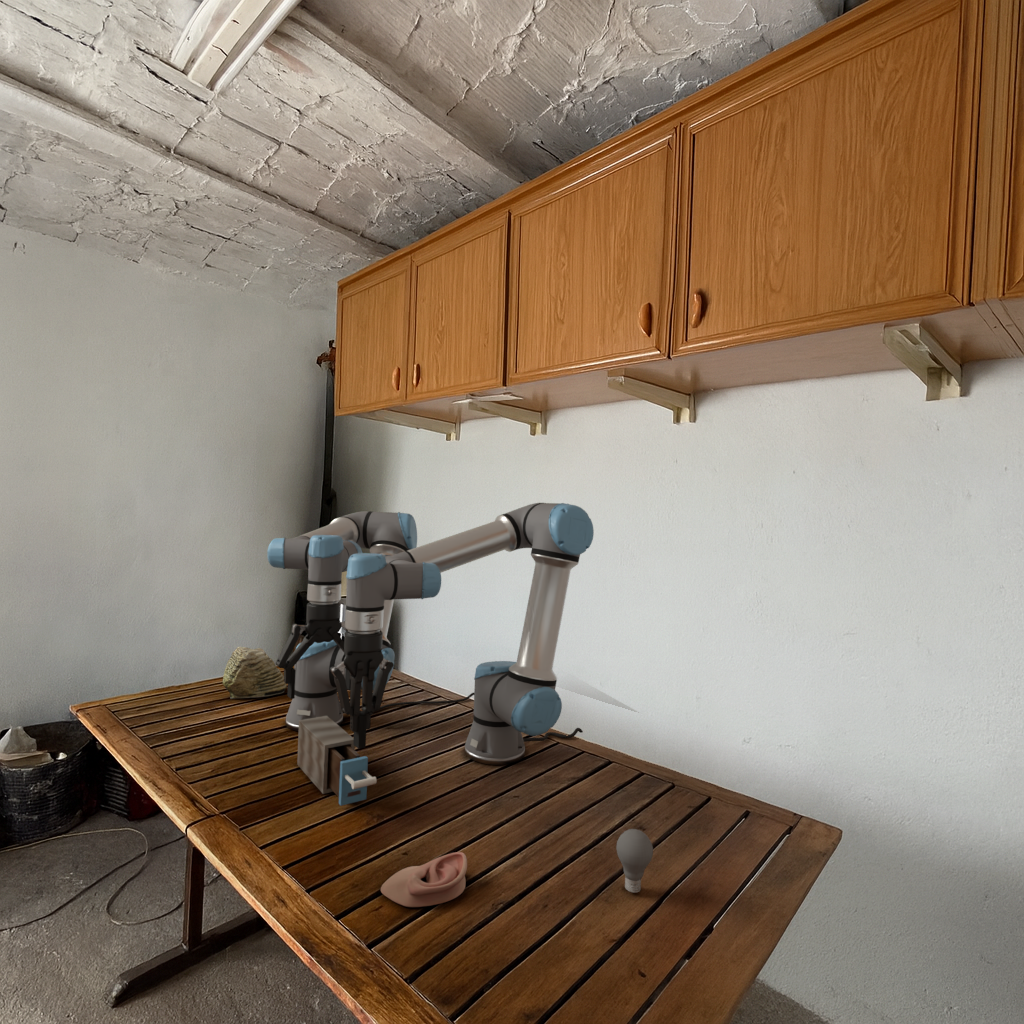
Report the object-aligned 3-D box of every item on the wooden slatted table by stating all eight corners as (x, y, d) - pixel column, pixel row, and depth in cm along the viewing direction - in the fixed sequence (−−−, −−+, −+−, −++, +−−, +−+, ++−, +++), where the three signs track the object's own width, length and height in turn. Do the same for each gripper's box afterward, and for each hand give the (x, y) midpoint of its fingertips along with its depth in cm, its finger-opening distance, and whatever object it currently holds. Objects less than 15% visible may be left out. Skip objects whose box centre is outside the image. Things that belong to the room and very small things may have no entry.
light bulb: (610, 879, 108) (613, 822, 108) (644, 879, 109) (647, 822, 109) (619, 902, 102) (622, 840, 102) (655, 901, 103) (658, 840, 103)
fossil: (218, 695, 195) (220, 647, 195) (278, 685, 208) (279, 640, 207) (228, 703, 189) (230, 653, 188) (289, 692, 201) (290, 645, 201)
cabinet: (353, 786, 139) (355, 739, 139) (322, 794, 135) (324, 745, 135) (325, 758, 153) (326, 715, 153) (297, 764, 149) (298, 720, 149)
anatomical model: (373, 876, 100) (400, 838, 111) (372, 901, 100) (399, 861, 111) (454, 890, 97) (473, 850, 108) (452, 915, 97) (472, 873, 108)
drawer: (377, 810, 127) (379, 767, 127) (351, 817, 124) (352, 773, 124) (337, 770, 145) (339, 732, 145) (313, 775, 141) (315, 737, 141)
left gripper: (273, 607, 136) (269, 705, 137) (380, 601, 151) (377, 689, 151) (263, 602, 142) (260, 696, 143) (368, 596, 157) (364, 681, 157)
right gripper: (339, 636, 121) (334, 759, 121) (401, 630, 129) (396, 746, 129) (325, 629, 127) (321, 745, 127) (385, 624, 135) (381, 734, 135)
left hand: (320, 693), depth 147 cm, fingers open, 13 cm apart
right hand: (359, 745), depth 128 cm, fingers closed
